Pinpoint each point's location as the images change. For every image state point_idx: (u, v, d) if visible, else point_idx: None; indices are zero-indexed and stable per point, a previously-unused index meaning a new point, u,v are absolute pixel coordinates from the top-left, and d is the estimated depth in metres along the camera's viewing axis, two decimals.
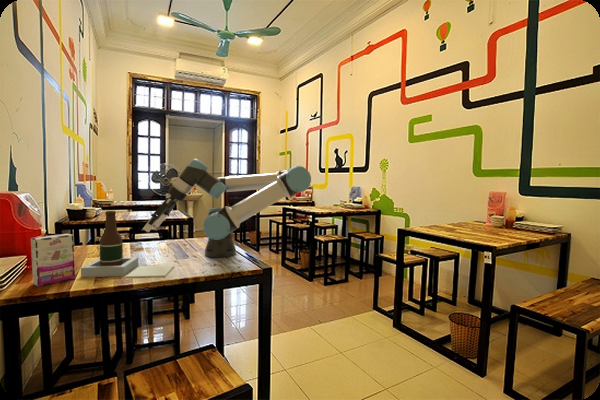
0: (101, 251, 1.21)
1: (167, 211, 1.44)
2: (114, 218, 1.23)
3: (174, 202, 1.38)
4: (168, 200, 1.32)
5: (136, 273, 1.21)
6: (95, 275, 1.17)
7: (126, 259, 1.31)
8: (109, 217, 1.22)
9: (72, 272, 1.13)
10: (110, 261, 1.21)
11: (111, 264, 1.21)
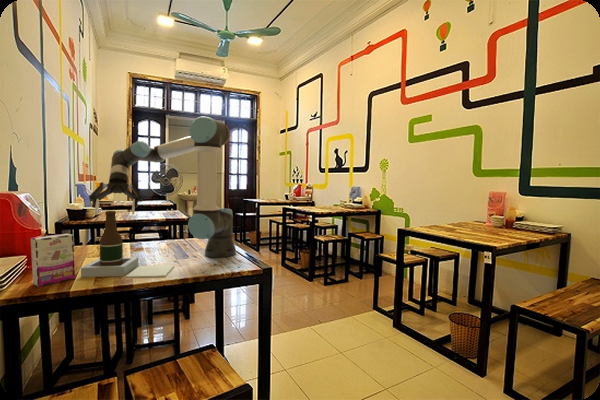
0: (101, 251, 1.21)
1: (131, 196, 1.40)
2: (114, 218, 1.23)
3: None
4: None
5: (136, 273, 1.21)
6: (95, 275, 1.17)
7: (126, 259, 1.31)
8: (109, 217, 1.22)
9: (72, 272, 1.13)
10: (110, 261, 1.21)
11: (111, 264, 1.21)
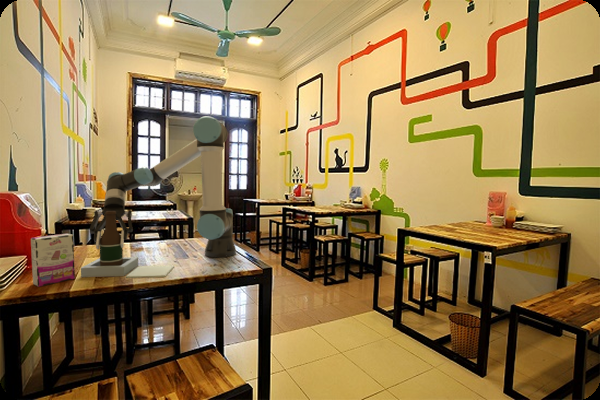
0: (101, 251, 1.21)
1: (121, 225, 1.28)
2: (114, 218, 1.23)
3: (108, 210, 1.29)
4: (94, 214, 1.28)
5: (136, 273, 1.21)
6: (95, 275, 1.17)
7: (126, 259, 1.31)
8: (109, 217, 1.22)
9: (72, 272, 1.13)
10: (110, 261, 1.21)
11: (111, 264, 1.21)
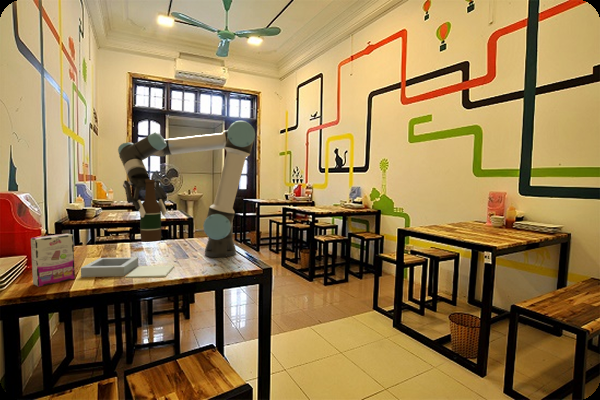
0: (145, 220, 1.19)
1: (156, 195, 1.27)
2: (154, 186, 1.23)
3: (138, 180, 1.26)
4: (124, 184, 1.23)
5: (136, 273, 1.21)
6: (95, 275, 1.17)
7: (126, 259, 1.31)
8: (151, 185, 1.21)
9: (72, 272, 1.13)
10: (155, 229, 1.21)
11: (156, 232, 1.21)
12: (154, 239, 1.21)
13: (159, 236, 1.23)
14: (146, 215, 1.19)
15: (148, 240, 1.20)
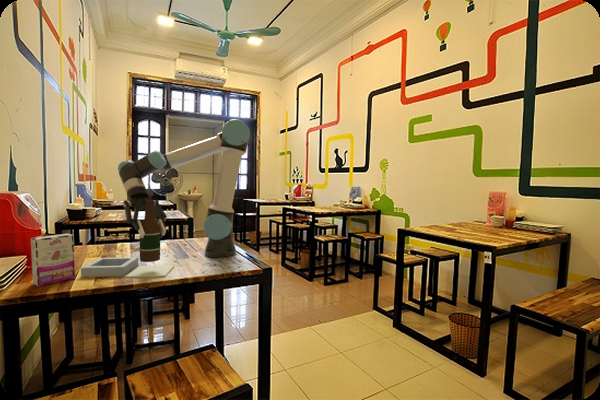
0: (144, 240, 1.20)
1: (155, 214, 1.27)
2: None
3: (137, 199, 1.26)
4: (123, 204, 1.23)
5: (136, 273, 1.21)
6: (95, 275, 1.17)
7: (126, 259, 1.31)
8: (150, 205, 1.21)
9: (72, 272, 1.13)
10: (154, 249, 1.21)
11: (155, 252, 1.22)
12: (153, 259, 1.21)
13: (158, 256, 1.23)
14: (145, 236, 1.20)
15: (147, 260, 1.20)
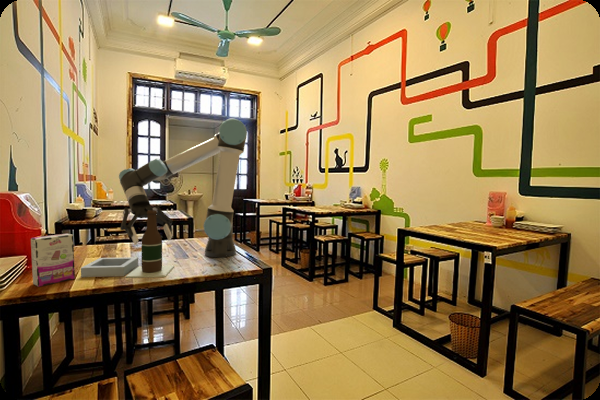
0: (146, 251, 1.20)
1: (160, 220, 1.29)
2: None
3: None
4: None
5: (136, 273, 1.21)
6: (95, 275, 1.17)
7: (126, 259, 1.31)
8: (153, 216, 1.22)
9: (72, 272, 1.13)
10: (156, 260, 1.22)
11: (157, 263, 1.22)
12: (155, 270, 1.22)
13: (160, 266, 1.24)
14: (147, 247, 1.20)
15: (149, 271, 1.21)
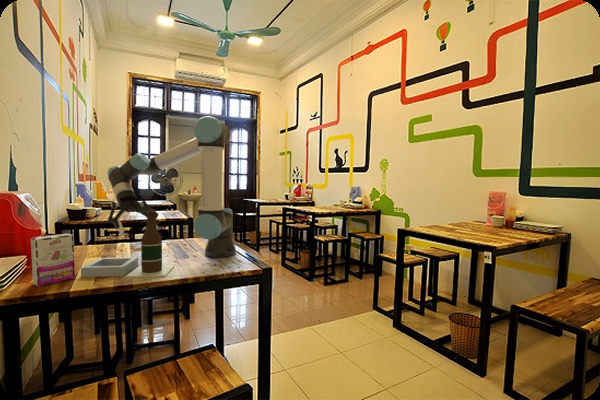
0: (146, 251, 1.20)
1: None
2: (155, 217, 1.24)
3: (126, 202, 1.35)
4: None
5: (136, 273, 1.21)
6: (95, 275, 1.17)
7: (126, 259, 1.31)
8: (152, 216, 1.22)
9: (72, 272, 1.13)
10: (156, 260, 1.22)
11: (157, 263, 1.22)
12: (155, 270, 1.22)
13: (160, 266, 1.24)
14: (147, 247, 1.20)
15: (149, 271, 1.21)
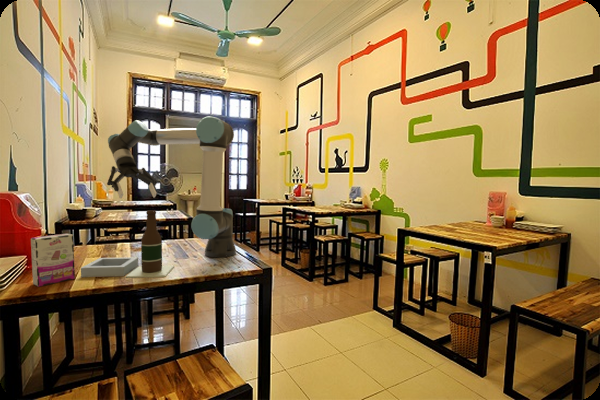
0: (146, 251, 1.20)
1: (146, 180, 1.41)
2: (155, 217, 1.24)
3: (126, 167, 1.38)
4: (111, 169, 1.35)
5: (136, 273, 1.21)
6: (95, 275, 1.17)
7: (126, 259, 1.31)
8: (152, 216, 1.22)
9: (72, 272, 1.13)
10: (156, 260, 1.22)
11: (157, 263, 1.22)
12: (155, 270, 1.22)
13: (160, 266, 1.24)
14: (147, 247, 1.20)
15: (149, 271, 1.21)
